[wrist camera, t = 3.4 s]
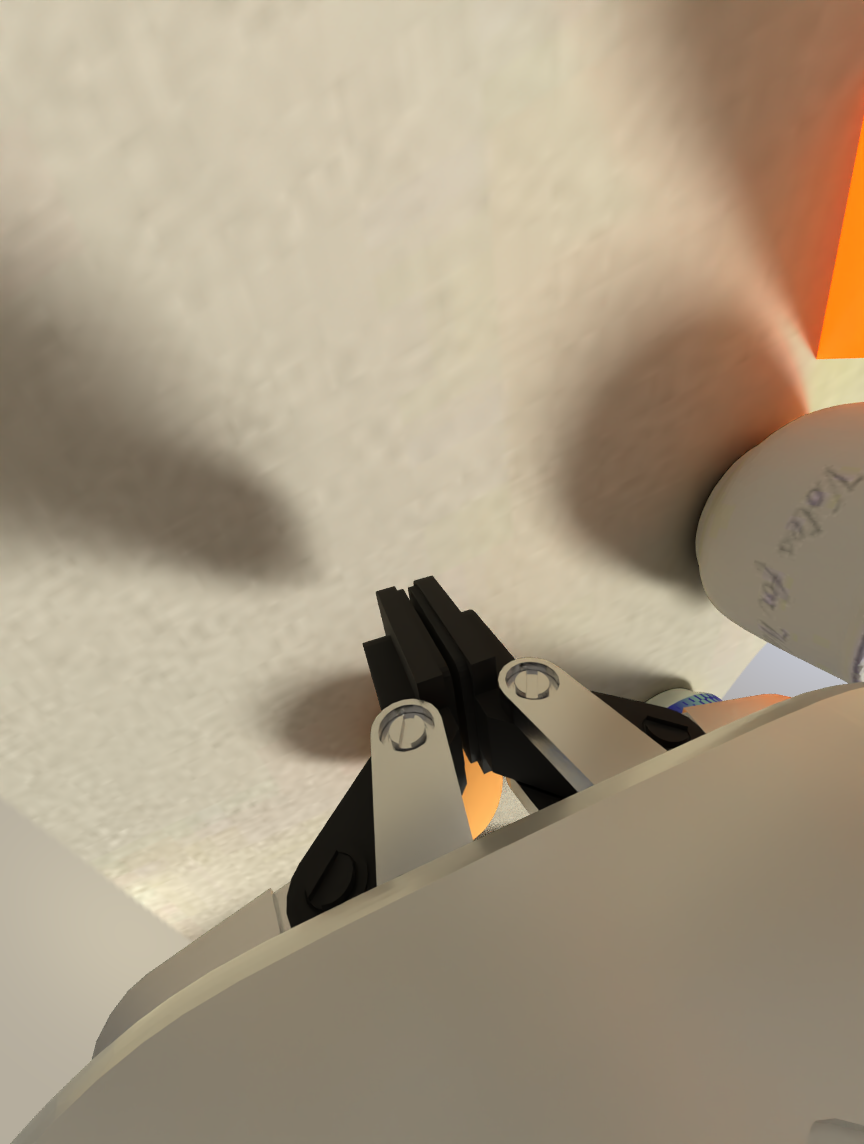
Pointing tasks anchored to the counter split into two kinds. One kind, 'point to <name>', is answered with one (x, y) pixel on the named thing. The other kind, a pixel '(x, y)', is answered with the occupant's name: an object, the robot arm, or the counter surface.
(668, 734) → the robot arm
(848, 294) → the orange juice
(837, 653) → the teacup
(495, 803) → the ball
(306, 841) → the counter surface
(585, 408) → the counter surface
